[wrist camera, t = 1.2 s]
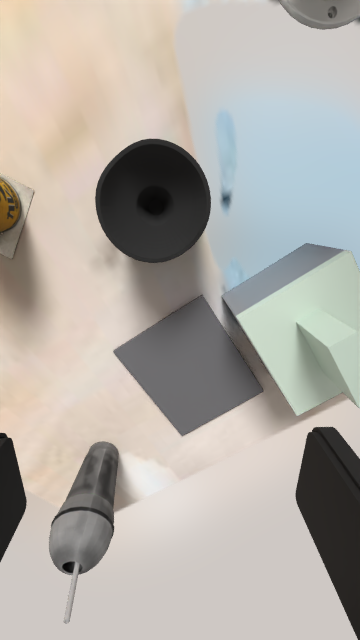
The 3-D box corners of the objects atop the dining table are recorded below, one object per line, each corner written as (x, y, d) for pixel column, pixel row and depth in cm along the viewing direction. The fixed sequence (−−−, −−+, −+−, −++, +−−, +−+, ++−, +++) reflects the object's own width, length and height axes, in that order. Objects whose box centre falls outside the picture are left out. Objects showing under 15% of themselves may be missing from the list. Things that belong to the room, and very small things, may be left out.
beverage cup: (69, 449, 44) (-5, 624, 25) (107, 426, 43) (58, 591, 24) (100, 477, 46) (53, 658, 27) (136, 456, 45) (114, 630, 26)
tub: (306, 243, 35) (344, 250, 27) (347, 331, 39) (391, 358, 31) (221, 295, 36) (235, 315, 29) (270, 375, 41) (293, 410, 33)
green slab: (336, 248, 29) (401, 260, 21) (381, 352, 33) (450, 396, 25) (232, 311, 30) (255, 344, 22) (288, 402, 35) (324, 458, 27)
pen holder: (195, 252, 35) (206, 264, 25) (117, 249, 34) (98, 260, 25) (201, 165, 31) (215, 142, 22) (115, 160, 31) (92, 134, 21)
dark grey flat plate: (202, 294, 36) (202, 295, 36) (262, 389, 41) (263, 391, 41) (113, 350, 38) (113, 351, 38) (181, 433, 44) (181, 436, 43)
